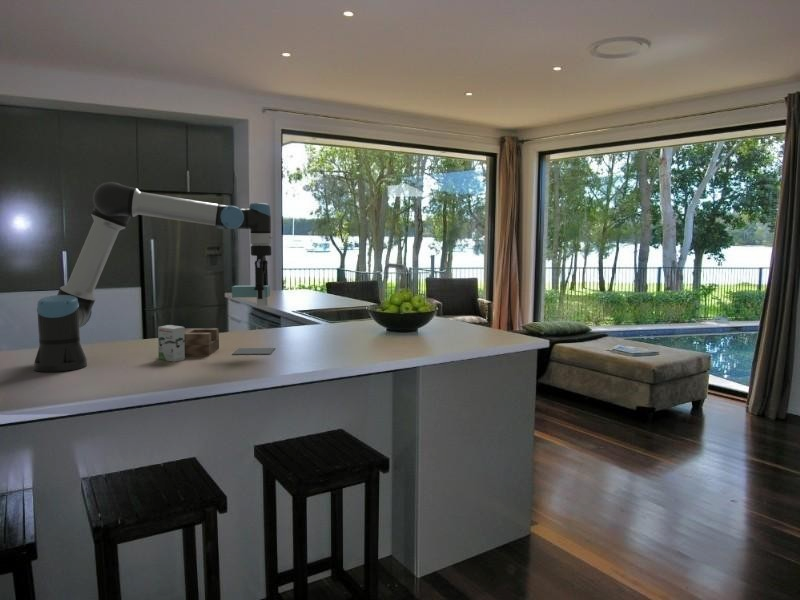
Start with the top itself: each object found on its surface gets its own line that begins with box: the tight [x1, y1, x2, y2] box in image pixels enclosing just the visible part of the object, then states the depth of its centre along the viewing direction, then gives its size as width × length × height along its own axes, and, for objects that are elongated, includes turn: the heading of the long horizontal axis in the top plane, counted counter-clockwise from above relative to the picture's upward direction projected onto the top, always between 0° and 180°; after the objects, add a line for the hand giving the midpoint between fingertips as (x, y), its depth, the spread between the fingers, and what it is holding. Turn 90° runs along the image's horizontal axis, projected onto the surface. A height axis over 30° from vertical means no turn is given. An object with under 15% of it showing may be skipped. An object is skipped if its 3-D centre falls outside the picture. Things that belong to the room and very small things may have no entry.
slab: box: [231, 284, 271, 298], centre depth 226 cm, size 13×6×4 cm, turn 93°
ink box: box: [157, 324, 186, 362], centre depth 212 cm, size 9×5×12 cm, turn 60°
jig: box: [184, 327, 220, 357], centre depth 226 cm, size 16×15×8 cm
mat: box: [231, 347, 276, 356], centre depth 228 cm, size 14×12×1 cm
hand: (262, 306), depth 227 cm, fingers closed on slab, 6 cm apart
